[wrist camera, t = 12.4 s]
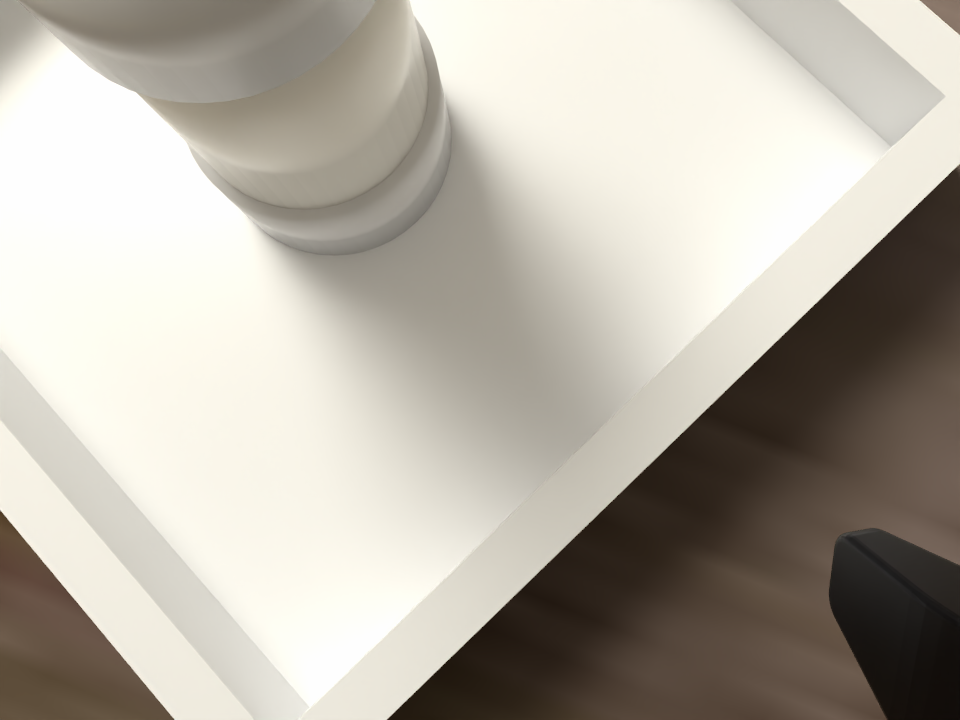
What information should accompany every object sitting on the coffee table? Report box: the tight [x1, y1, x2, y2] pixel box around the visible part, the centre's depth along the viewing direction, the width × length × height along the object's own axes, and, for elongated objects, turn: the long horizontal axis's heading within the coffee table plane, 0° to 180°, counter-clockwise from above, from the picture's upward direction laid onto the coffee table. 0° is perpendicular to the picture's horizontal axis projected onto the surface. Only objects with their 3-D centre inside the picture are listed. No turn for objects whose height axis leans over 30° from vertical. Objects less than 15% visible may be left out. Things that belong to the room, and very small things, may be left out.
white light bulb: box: [17, 0, 452, 256], centre depth 14 cm, size 5×5×10 cm
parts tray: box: [0, 0, 960, 720], centre depth 18 cm, size 18×18×3 cm
